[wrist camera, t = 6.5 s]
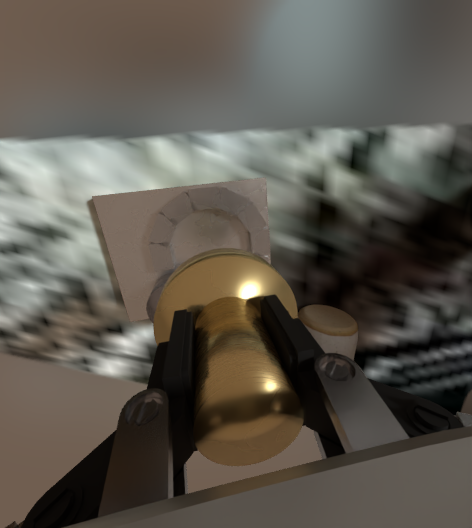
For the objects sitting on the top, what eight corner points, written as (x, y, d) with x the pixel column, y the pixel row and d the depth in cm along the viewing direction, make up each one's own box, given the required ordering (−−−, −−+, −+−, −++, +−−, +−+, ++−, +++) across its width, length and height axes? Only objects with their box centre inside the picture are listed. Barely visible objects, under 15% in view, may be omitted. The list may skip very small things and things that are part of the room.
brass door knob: (281, 237, 12) (372, 295, 6) (289, 346, 14) (359, 471, 8) (142, 261, 11) (74, 357, 5) (175, 372, 14) (157, 529, 7)
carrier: (262, 177, 25) (277, 176, 20) (269, 293, 30) (282, 313, 25) (97, 195, 23) (72, 198, 19) (132, 316, 28) (120, 341, 23)
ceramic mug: (339, 300, 32) (379, 334, 25) (328, 350, 34) (361, 394, 27) (264, 300, 30) (283, 336, 23) (258, 352, 33) (273, 399, 26)
